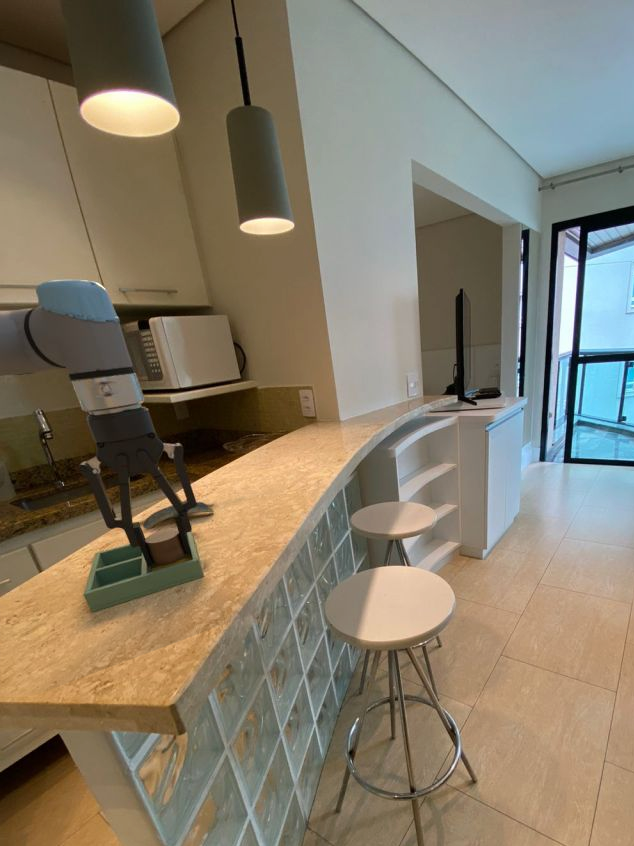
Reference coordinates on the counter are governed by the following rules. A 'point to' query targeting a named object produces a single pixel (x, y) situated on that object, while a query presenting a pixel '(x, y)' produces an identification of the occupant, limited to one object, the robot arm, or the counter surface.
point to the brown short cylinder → (165, 547)
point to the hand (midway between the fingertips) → (169, 556)
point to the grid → (135, 575)
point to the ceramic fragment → (168, 513)
